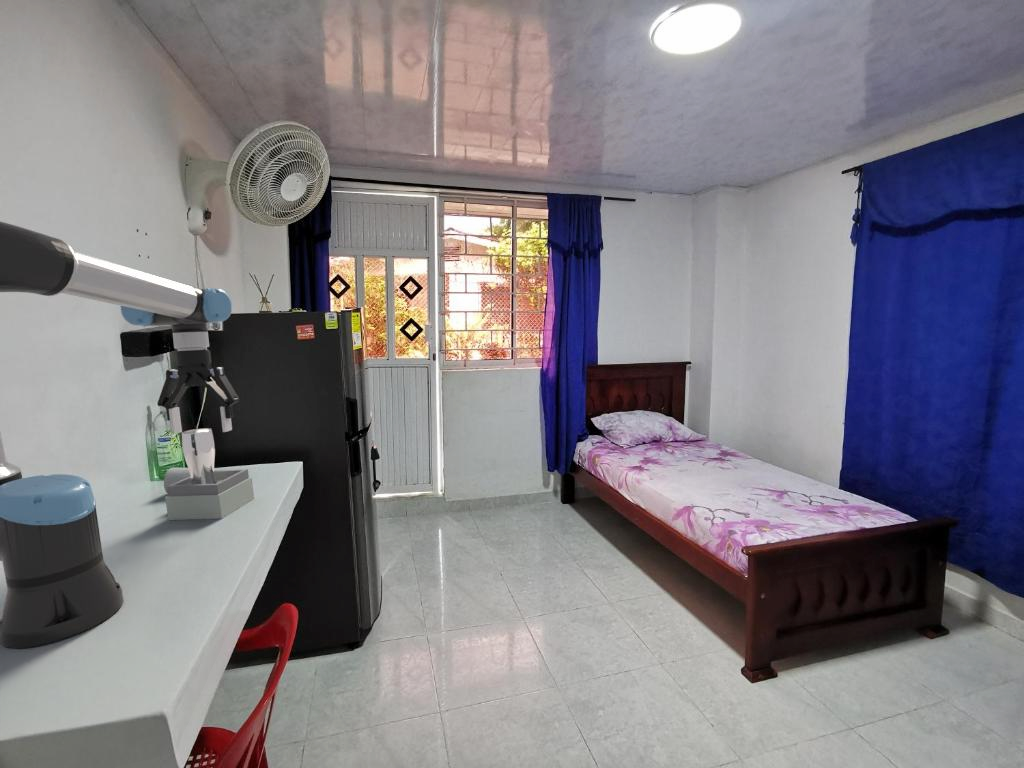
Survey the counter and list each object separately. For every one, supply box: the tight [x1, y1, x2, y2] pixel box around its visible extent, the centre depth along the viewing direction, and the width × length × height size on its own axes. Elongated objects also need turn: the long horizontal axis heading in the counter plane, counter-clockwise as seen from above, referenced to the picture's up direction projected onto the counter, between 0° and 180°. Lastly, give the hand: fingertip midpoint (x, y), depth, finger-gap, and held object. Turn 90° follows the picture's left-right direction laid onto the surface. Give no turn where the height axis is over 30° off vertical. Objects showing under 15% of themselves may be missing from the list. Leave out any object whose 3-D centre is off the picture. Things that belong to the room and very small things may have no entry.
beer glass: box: [181, 427, 217, 485], centre depth 129 cm, size 7×7×15 cm
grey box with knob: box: [164, 468, 255, 521], centre depth 130 cm, size 14×17×8 cm
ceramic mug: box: [163, 467, 190, 494], centre depth 147 cm, size 11×8×8 cm
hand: (202, 432), depth 128 cm, fingers open, 13 cm apart
